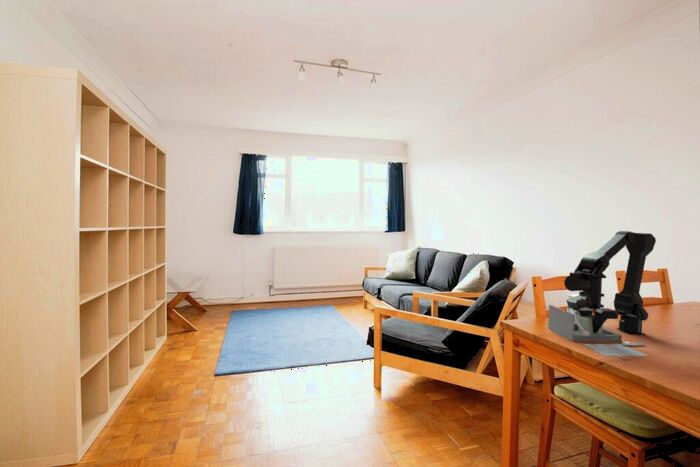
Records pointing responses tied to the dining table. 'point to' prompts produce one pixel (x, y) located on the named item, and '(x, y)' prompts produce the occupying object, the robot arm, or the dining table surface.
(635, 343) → the rod
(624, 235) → the robot arm
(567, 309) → the ink box
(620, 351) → the blue-grey flat plate
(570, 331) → the equipment case
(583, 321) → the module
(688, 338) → the dining table surface
